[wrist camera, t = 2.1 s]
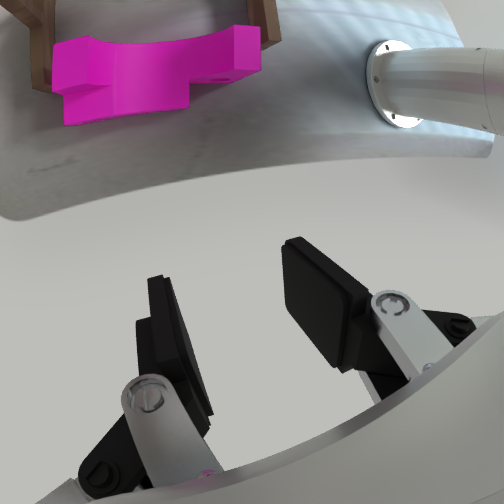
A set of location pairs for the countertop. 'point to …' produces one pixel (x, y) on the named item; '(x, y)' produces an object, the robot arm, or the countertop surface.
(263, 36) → the tunnel
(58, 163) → the countertop surface
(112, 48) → the toy block
